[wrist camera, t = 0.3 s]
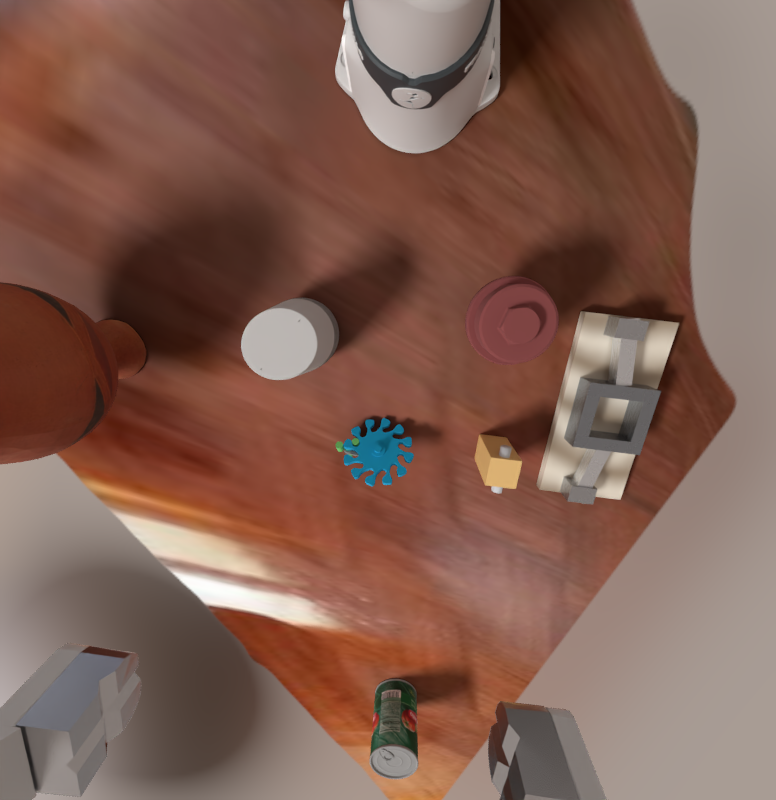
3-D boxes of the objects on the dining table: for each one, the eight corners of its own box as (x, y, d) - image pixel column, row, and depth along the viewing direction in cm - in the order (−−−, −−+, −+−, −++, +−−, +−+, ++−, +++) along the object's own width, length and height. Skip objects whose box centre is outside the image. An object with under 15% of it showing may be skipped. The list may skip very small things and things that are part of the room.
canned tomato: (425, 697, 72) (428, 768, 61) (392, 714, 74) (390, 786, 63) (399, 671, 70) (397, 739, 60) (366, 689, 72) (359, 758, 61)
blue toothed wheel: (420, 423, 54) (405, 491, 50) (418, 439, 59) (404, 502, 55) (346, 408, 56) (325, 472, 51) (350, 425, 61) (331, 485, 56)
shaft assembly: (597, 312, 49) (609, 314, 46) (667, 321, 49) (683, 323, 46) (549, 491, 56) (557, 502, 54) (610, 498, 56) (621, 510, 53)
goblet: (38, 377, 57) (-229, 443, 33) (66, 255, 51) (-228, 228, 28) (159, 433, 59) (-12, 535, 35) (198, 321, 53) (29, 349, 29)
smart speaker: (314, 377, 55) (284, 407, 41) (263, 335, 53) (215, 351, 40) (356, 328, 52) (339, 342, 39) (304, 282, 51) (267, 280, 38)
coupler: (481, 426, 56) (492, 448, 48) (508, 429, 56) (524, 452, 48) (473, 465, 58) (483, 493, 50) (499, 469, 58) (513, 497, 50)
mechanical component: (531, 272, 49) (534, 348, 52) (454, 283, 50) (461, 357, 53) (570, 267, 37) (571, 366, 40) (468, 283, 38) (476, 378, 41)
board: (580, 311, 50) (585, 311, 49) (671, 321, 50) (679, 322, 49) (536, 484, 58) (539, 489, 56) (615, 494, 58) (620, 499, 56)
